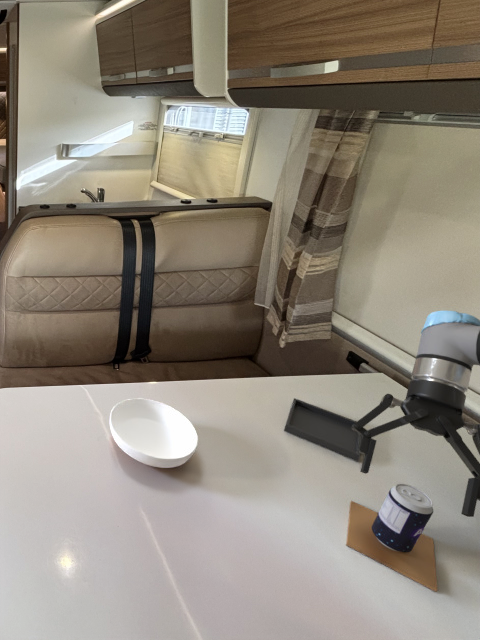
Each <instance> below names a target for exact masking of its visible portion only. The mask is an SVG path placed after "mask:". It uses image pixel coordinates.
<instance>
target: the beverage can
mask: <svg viewBox="0 0 480 640" xmlns="http://www.w3.org/2000/svg"><path fill="white" fill-rule="evenodd" d="M433 507H434V502H433V500H432V499H431V497H430V496H429V495H427V494H426V493H425V492H424V491H422V490H420V489H419V488H417V487H415V486H412V485H410V484H405V483H398V484H397V483H396V484H395V486H392V487H391V488H390V489H389V491H388V493H387V495H386V497H385V499H384V501H383V502H382V505H381V507H380V509H379V510H378V512H377V513H378V515H377V517H376V519H375V521H374V523H373V525H372V531H373V533H374V535H375V536H376V537H377V539H378V540H379V541H380V542H381V543H382V544H383V545H385V546H386V547H388V548H390V549H392V550H394V551H399V552H410V551H411V550H412V549H413V547H414V545H415V544H416V542H417V540H418V538H419V537H420V535H421V533H422V534H423V531H424V530H425V527H426V526H427V524H428V523H429V521H430V519H431V517H432V516H433V514H434V508H433Z"/></svg>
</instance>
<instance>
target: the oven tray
mask: <svg viewBox="0 0 480 640" xmlns="http://www.w3.org/2000/svg"><path fill="white" fill-rule="evenodd" d="M357 421H358V420H357ZM357 421H356V420H354V419H352V418H349V417H346V416H344V415H341V414H338V413H335V412H332V411H330V410H327V409H325V408H321V407H319V406H317V405H314V404H311V403H308V402H306V401H303V400H301V399H298V398H293V400H292V402H291V406H290V409H289V412H288V416H287V419H286V422H285V426H284V429H283V431H284V432H286V433H288V434H289V435H292V436H295V437H297V438H299V439H303V440H305V441H307V442H309V443H312V444H314V445H317V446H318V447H321V448H324V449H326V450H329V451H331V452H333V453H335V454H338V455H341V456H343V457H345V458H348V459H350V460H353V461H355V462H357V463H358V462H359V460H360V457H361V455H362V453H359V450H358V449H359V445H360V441H361V435H360V434H359V433H357V432H356V431H353V430H352V429H351V426H352V425H353V424H355V423H356V422H357Z"/></svg>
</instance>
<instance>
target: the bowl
mask: <svg viewBox="0 0 480 640" xmlns="http://www.w3.org/2000/svg"><path fill="white" fill-rule="evenodd" d="M109 428H110V433H111V435H112V438H113V440H114V442H115V443H116V444H117V446H118V447H119V449H121V451H122V452H124V453H125V454H127V455H128V456H129V457H130V458H132V459H134V460H135V461H138V462H139V463H141V464H144V465H146V466H150V467H153V468H161V469H169V468H170V469H171V468H177V467H180V466H182V465H184V464H185V463H186V462H188V461H189V460H190V459H191V458H192V457H193V455H194V454H195V451H196V450H197V448H198V444H199V436H198V433H197V430H196V428H195V426H194V425H193V423H192V421H190V420H189V419H188V417H186V416H185V415H184V414H182V413H181V412H180V411H179V410H177V409H176V408H174V407H173V406H170V405H168V404H166V403H164V402H161V401H157V400H155V399H149V398H142V397H138V398H133V397H132V398H128V399H125V400H121V401H120V402H118V403H117V404H115V405H114V406H113V407H112V408H111V411H110V413H109Z"/></svg>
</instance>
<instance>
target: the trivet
mask: <svg viewBox="0 0 480 640" xmlns="http://www.w3.org/2000/svg"><path fill="white" fill-rule="evenodd" d="M378 513H379V512H376V511H375V510H372V509H370V508H368V507H366V506H364V505H361V504H359V503H357V502H355V501H353V500H350V502H349V510H348V520H347V521H348V522H347V533H346V541H345V542H346V543H345V546H346V547H349V548H351V549H352V550H355V551H357V552H359V553H360V554H362V555H364V556H366V557H368V558H370V559H372V560H374V561H376V562H378V563H379V564H381V565H383V566H386V567H387V568H389V569H391V570H393V571H395V572H397V573H399V574H400V575H403V576H404V577H406V578H409V579H410V580H413V581H414V582H416V583H418V584H420V585H422V586H424V587H426V588H428V589H430V590H432V591H434V592H435V593H437V592H438V591H439V590H438V578H437V567H436V557H435V546H434V538H432V537H430V536H428V535H426V534H424V533H423V532H422V533H421V535H420V537H419V538H418V540H417V542H416V544H415V545H414V547H413V549H412V550H411V551H410V552H399V551H394V550H392V549H390V548H388V547H386V546H385V545H383V544H382V543H381V542H380V541H379V540H378V539H377V537H376V536H375V535H374V533H373V531H372V525H373V523H374V521H375V519H376V517H377V515H378Z"/></svg>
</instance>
